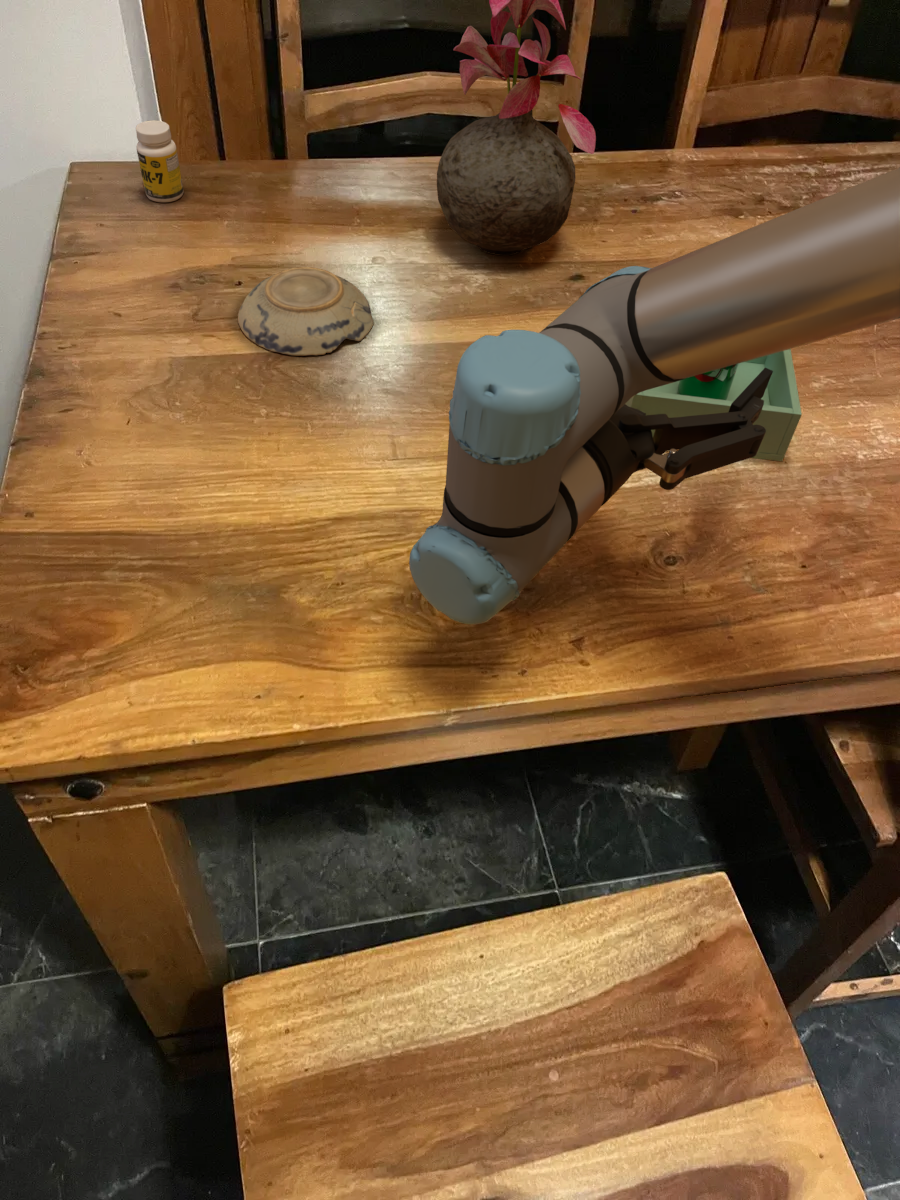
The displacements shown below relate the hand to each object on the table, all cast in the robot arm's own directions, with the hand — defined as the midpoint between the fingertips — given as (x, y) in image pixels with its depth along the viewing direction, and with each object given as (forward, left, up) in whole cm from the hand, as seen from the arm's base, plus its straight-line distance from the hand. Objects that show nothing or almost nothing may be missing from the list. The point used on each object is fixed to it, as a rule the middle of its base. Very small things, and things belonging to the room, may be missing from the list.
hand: (694, 349), depth 83 cm
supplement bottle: (+64, -38, -11) cm, 75 cm away
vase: (+20, -36, -11) cm, 42 cm away
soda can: (-3, -8, -11) cm, 14 cm away
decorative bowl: (+40, -15, -11) cm, 44 cm away
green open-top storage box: (-3, -8, -11) cm, 14 cm away
